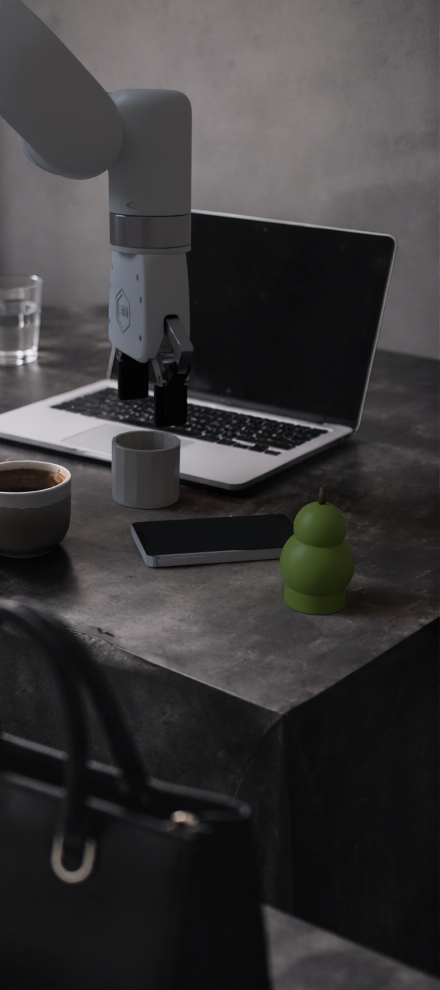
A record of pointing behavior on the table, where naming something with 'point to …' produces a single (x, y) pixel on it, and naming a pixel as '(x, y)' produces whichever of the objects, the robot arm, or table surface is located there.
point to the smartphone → (212, 539)
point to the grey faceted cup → (145, 469)
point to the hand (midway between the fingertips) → (151, 411)
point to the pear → (317, 559)
